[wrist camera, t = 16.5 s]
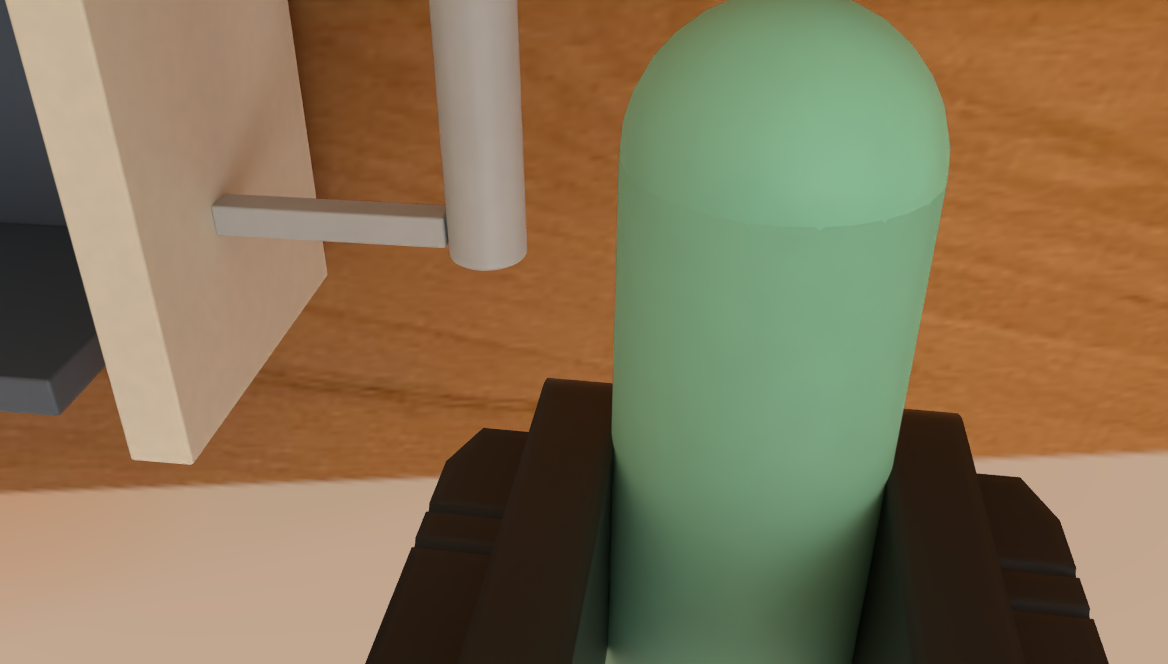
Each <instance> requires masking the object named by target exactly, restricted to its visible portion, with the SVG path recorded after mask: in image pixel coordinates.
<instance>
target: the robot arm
mask: <svg viewBox="0 0 1168 664" xmlns="http://www.w3.org/2000/svg"><path fill="white" fill-rule="evenodd" d="M612 396H613V383H601V382H589V381H577V380H566V379H554V378H547V379H546V381H545V382H544V385H543V388H542V391H541V395H540V398H539V401H538V404H537V408H536V411H535V414H534V417H533V421H532V424H531V427H530V430H529V432H522V431H511V430H500V429H489V428H483V429H482V430H481V431H479V432H478V433H477V434H476V435H475V436H474V437H473V438H472V439H471V440H469V441H468V442H467V443H466V444H465V445H464V446H463V447H462V448H461V449H459V450H458V451H457V452H456V453H455V454H454V455H453V456H452V457H451V458H450V459H448V460H447V461H446V463H445V466H444V468H443V471H442V473H441V476H440V478H439V481H438V483H437V486H436V488H435V491H434V493H433V496H432V498H431V501H430V504H429V512H426V513H425V516H424V518H423V521H422V523H421V526H420V528H419V531H418V533H417V536H416V540H415V547H412V548H411V551H410V553H409V556H408V558H407V561H406V563H405V566H404V568H403V571H402V573H401V576H400V578H399V581H398V583H397V586H396V588H395V591H394V593H393V596H392V598H391V600H390V603H389V605H388V608H387V610H386V613H385V615H384V618H383V621H382V623H381V626H380V628H379V630H378V633H377V635H376V638H375V641H374V643H373V646H372V648H371V651H370V653H369V655H368V658H367V661H366V663H365V664H605V661H606V655H607V649H608V624H609V589H610V554H611V519H612V484H613V448H614V445H613V440H612ZM1075 573H1076V566H1075V564H1074V561H1073V558H1072V555H1071V552H1070V549H1069V546H1068V543H1067V540H1066V537H1065V535H1064V532H1063V529H1062V526H1061V523H1060V520H1059V519H1058V518H1057V517H1056V516H1055V515H1054V514H1053V513H1052V512H1051V511H1050V509H1049V508H1048V507H1047V506H1046V505H1045V504H1044V503H1043V502H1042V501H1041V500H1040V498H1039V497H1038V496H1037V495H1036V494H1035V493H1034V492H1033V491H1032V490H1031V489H1030V488H1029V487H1028V485H1027V484H1026V483H1025V482H1024V481H1023V480H1022V479H1021V478H1020V477H1009V476H997V475H987V474H976V470H975V466H974V462H973V458H972V454H971V451H970V447H969V443H968V439H967V435H966V431H965V427H964V424H963V421H962V418H961V416H960V415H959V414H958V413H947V412H935V411H923V410H912V409H903V415H902V420H901V425H900V430H899V436H898V441H897V446H896V451H895V456H894V462H893V467H892V470H891V472H890V475H889V477H888V479H887V481H886V486H885V491H884V497H883V502H882V507H881V512H880V518H879V523H878V528H877V533H876V539H875V544H874V549H873V554H872V560H871V565H870V570H869V575H868V581H867V586H866V591H865V597H864V602H863V607H862V612H861V618H860V623H859V628H858V633H857V639H856V644H855V649H854V654H853V660H852V664H1109V663H1108V660H1107V657H1106V654H1105V651H1104V648H1103V645H1102V643H1101V640H1100V637H1099V634H1098V631H1097V628H1096V625H1095V623H1094V620H1093V619H1090V617H1089V610H1090V608H1089V605H1088V602H1087V599H1086V596H1085V593H1084V590H1083V587H1082V584H1081V581H1080V579H1079V578H1076V574H1075Z"/></svg>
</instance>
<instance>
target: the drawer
mask: <svg viewBox="0 0 1168 664" xmlns="http://www.w3.org/2000/svg"><path fill="white" fill-rule="evenodd" d="M429 8H430V20H431V33H432V45H433V57H434V70H435V82H436V95H437V107H438V120H439V132H440V145H441V157H442V170H443V182H444V195H445V205H434V204H414V203H395V202H376V201H356V200H337V199H317V198H316V192H315V185H314V179H313V172H312V165H311V158H310V151H309V144H308V137H307V130H306V123H305V117H304V110H303V103H302V96H301V89H300V82H299V75H298V68H297V61H296V55H295V48H294V41H293V34H292V27H291V20H290V13H289V6H288V0H0V411H2V412H14V413H27V414H40V415H52V416H57V415H60V414H61V413H62V412H63V411H64V410H65V409H66V408H67V407H68V406H69V405H70V404H71V402H72V401H73V400H74V399H75V398H76V397H77V396H78V395H79V394H80V393H81V392H82V391H83V390H84V389H85V388H86V386H87V385H88V384H89V383H90V382H91V381H92V380H93V379H94V378H95V377H96V376H97V375H98V374H99V373H100V371H101V370H102V369H103V368H104V367H105V366H106V369H107V372H108V376H109V379H110V383H111V387H112V390H113V394H114V398H115V401H116V405H117V409H118V412H119V416H120V419H121V423H122V427H123V430H124V434H125V438H126V441H127V445H128V448H129V452H130V456H131V458H132V459H133V460H140V461H152V462H164V463H176V464H188V465H191V464H193V463H194V462H195V461H196V459H197V458H198V456H199V455H200V454H201V452H202V451H203V449H204V448H205V447H206V445H207V444H208V442H209V441H210V439H211V438H212V437H213V435H214V434H215V432H216V431H217V430H218V428H219V427H220V425H221V424H222V423H223V421H224V420H225V418H226V417H227V416H228V414H229V413H230V411H231V410H232V409H233V407H234V406H235V404H236V403H237V402H238V400H239V399H240V397H241V396H242V395H243V393H244V392H245V390H246V389H247V387H248V386H249V385H250V383H251V382H252V380H253V379H254V378H255V376H256V375H257V373H258V372H259V371H260V369H261V368H262V366H263V365H264V364H265V362H266V361H267V359H268V358H269V357H270V355H271V354H272V352H273V351H274V350H275V348H276V347H277V345H278V344H279V343H280V341H281V340H282V338H283V337H284V335H285V334H286V333H287V331H288V330H289V328H290V327H291V326H292V324H293V323H294V321H295V320H296V319H297V317H298V316H299V314H300V313H301V312H302V310H303V309H304V307H305V306H306V305H307V303H308V302H309V300H310V299H311V298H312V296H313V295H314V293H315V292H316V291H317V289H318V288H319V286H320V285H321V283H322V282H323V281H324V279H325V278H326V276H327V268H326V261H325V254H324V247H323V241H328V242H346V243H364V244H381V245H399V246H417V247H434V248H445V247H446V245H447V244H448V245H449V255H450V257H451V259H452V260H453V261H454V262H455V263H456V264H457V265H459V266H461V267H464V268H468V269H472V270H483V271H487V270H498V269H503V268H507V267H510V266H513V265H515V264H517V263H518V262H520V261H521V260H522V259H523V258H524V257H525V255H526V253H527V233H526V208H525V183H524V157H523V132H522V106H521V81H520V56H519V30H518V5H517V0H429Z"/></svg>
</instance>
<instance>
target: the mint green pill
mask: <svg viewBox="0 0 1168 664" xmlns="http://www.w3.org/2000/svg"><path fill="white" fill-rule="evenodd" d="M949 159H950V141H949V134H948V126H947V119H946V112H945V105H944V103H943V100H942V97H941V95H940V92H939V89H938V87H937V84H936V81H935V79H934V76H933V75H932V73H931V72H930V70H929V69H928V67H927V66H926V64H925V63H924V61H923V60H922V58H921V56H920V55H919V53H918V52H917V50H916V49H915V48H914V46H913V45H912V44H911V42H910V41H908V40H907V39H906V38H905V37H904V36H903V35H902V34H901V33H900V32H899V31H898V30H897V29H896V28H895V27H894V26H893V25H892V24H890V23H889V22H888V21H887V20H885V19H884V18H882V17H881V16H879V15H877V14H876V13H874V12H872V11H870V10H869V9H867V8H865V7H863V6H862V5H860V4H858V3H856V2H854V1H852V0H728V1H726V2H724V3H721V4H719V5H716V6H714V7H712V8H709V9H707V10H706V11H704V12H703V13H701V14H700V15H699V16H697V17H696V18H694V19H693V20H692V21H690V22H689V23H687V24H686V25H684V26H683V27H682V28H680V29H679V30H678V31H676V32H675V33H674V34H673V35H672V36H671V38H670V39H669V40H668V41H667V42H666V43H665V44H664V45H663V46H662V47H661V48H660V49H659V50H658V52H657V53H656V54H655V55H654V57H653V58H652V60H651V62H650V63H649V65H648V67H647V68H646V70H645V72H644V73H643V75H642V77H641V78H640V80H639V82H638V83H637V85H636V87H635V88H634V90H633V93H632V96H631V99H630V102H629V105H628V107H627V110H626V113H625V116H624V119H623V127H622V135H621V142H620V150H619V172H618V209H617V247H616V284H615V322H614V359H613V396H612V440H613V445H614V448H613V484H612V519H611V554H610V589H609V624H608V649H607V655H606V661H605V664H852V660H853V654H854V649H855V644H856V639H857V633H858V628H859V623H860V618H861V612H862V607H863V602H864V597H865V591H866V586H867V581H868V575H869V570H870V565H871V560H872V554H873V549H874V544H875V539H876V533H877V528H878V523H879V518H880V512H881V507H882V502H883V497H884V491H885V486H886V481H887V479H888V477H889V475H890V472H891V470H892V467H893V462H894V456H895V451H896V446H897V441H898V436H899V430H900V425H901V420H902V415H903V409H904V404H905V399H906V394H907V389H908V383H909V378H910V373H911V368H912V363H913V357H914V352H915V347H916V342H917V336H918V331H919V326H920V321H921V316H922V310H923V305H924V300H925V295H926V289H927V284H928V279H929V274H930V269H931V263H932V258H933V253H934V248H935V243H936V237H937V232H938V227H939V222H940V216H941V211H942V206H943V201H944V196H945V190H946V185H947V180H948V171H949Z"/></svg>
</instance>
